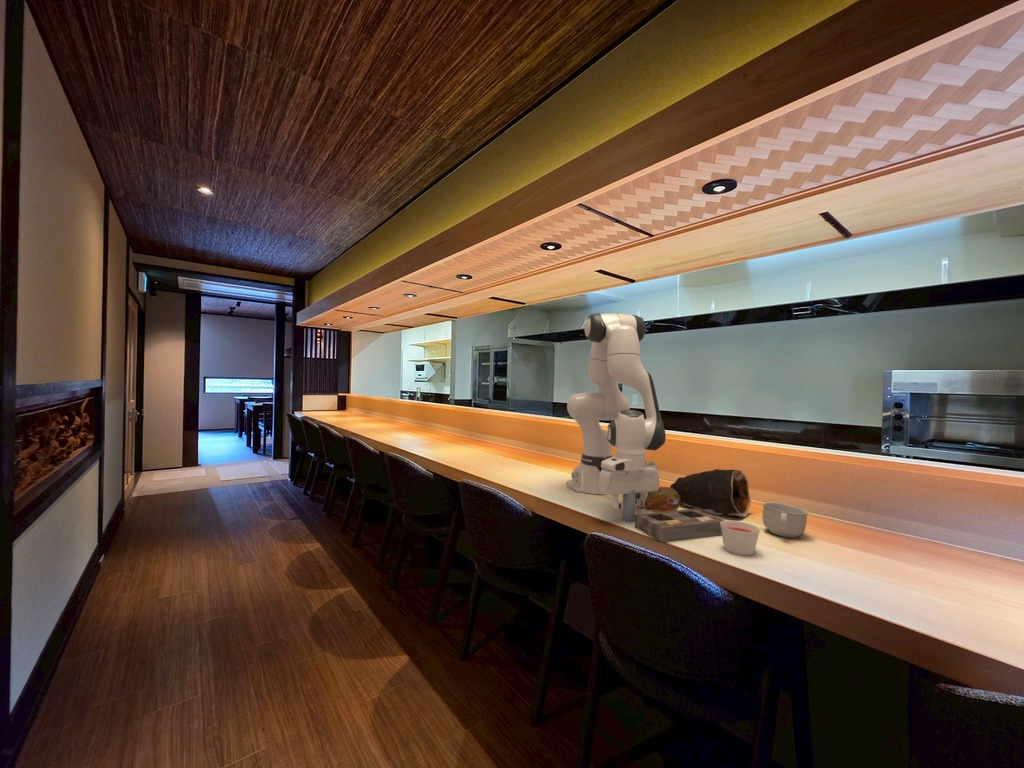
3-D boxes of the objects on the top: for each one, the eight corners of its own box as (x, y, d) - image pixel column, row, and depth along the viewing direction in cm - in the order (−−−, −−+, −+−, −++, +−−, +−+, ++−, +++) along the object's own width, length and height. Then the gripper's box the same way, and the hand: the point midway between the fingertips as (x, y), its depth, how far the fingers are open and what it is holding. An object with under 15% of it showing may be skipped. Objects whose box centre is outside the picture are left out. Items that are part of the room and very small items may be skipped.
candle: (743, 560, 102) (744, 534, 102) (711, 546, 110) (712, 522, 110) (767, 554, 106) (767, 529, 106) (734, 542, 114) (735, 518, 114)
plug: (619, 519, 131) (620, 487, 131) (630, 518, 132) (630, 486, 132) (626, 523, 127) (627, 490, 127) (638, 522, 128) (638, 489, 128)
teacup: (768, 525, 128) (768, 499, 128) (810, 534, 121) (811, 507, 121) (754, 536, 119) (755, 507, 119) (799, 547, 111) (800, 517, 111)
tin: (633, 508, 144) (633, 483, 144) (634, 506, 146) (635, 481, 146) (679, 515, 137) (680, 489, 137) (680, 512, 139) (681, 487, 139)
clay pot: (675, 466, 160) (744, 463, 141) (684, 505, 159) (755, 508, 140) (656, 476, 149) (728, 475, 131) (665, 518, 149) (739, 523, 130)
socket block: (634, 527, 123) (635, 513, 123) (694, 521, 131) (694, 507, 131) (662, 542, 112) (662, 526, 112) (725, 534, 119) (725, 519, 119)
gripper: (651, 459, 136) (650, 502, 136) (596, 462, 129) (595, 506, 129) (664, 463, 130) (663, 507, 130) (607, 465, 123) (606, 512, 123)
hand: (629, 507), depth 130 cm, fingers open, 7 cm apart
